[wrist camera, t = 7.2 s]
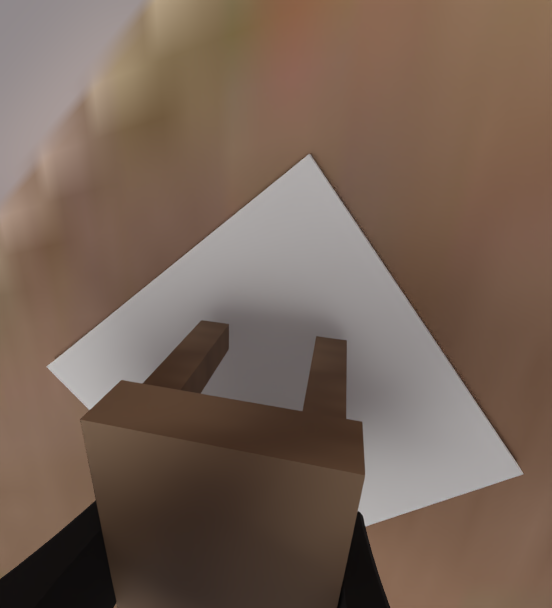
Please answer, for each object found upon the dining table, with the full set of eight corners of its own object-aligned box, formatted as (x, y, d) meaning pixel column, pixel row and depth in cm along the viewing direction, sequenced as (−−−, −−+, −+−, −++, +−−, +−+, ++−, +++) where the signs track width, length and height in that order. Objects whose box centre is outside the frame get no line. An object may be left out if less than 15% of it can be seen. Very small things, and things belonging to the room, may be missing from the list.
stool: (357, 333, 11) (365, 475, 6) (325, 523, 15) (314, 715, 10) (192, 311, 12) (80, 419, 7) (199, 495, 16) (127, 658, 10)
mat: (517, 463, 14) (523, 474, 13) (246, 556, 19) (244, 566, 18) (310, 154, 11) (309, 153, 10) (54, 360, 16) (46, 366, 15)
